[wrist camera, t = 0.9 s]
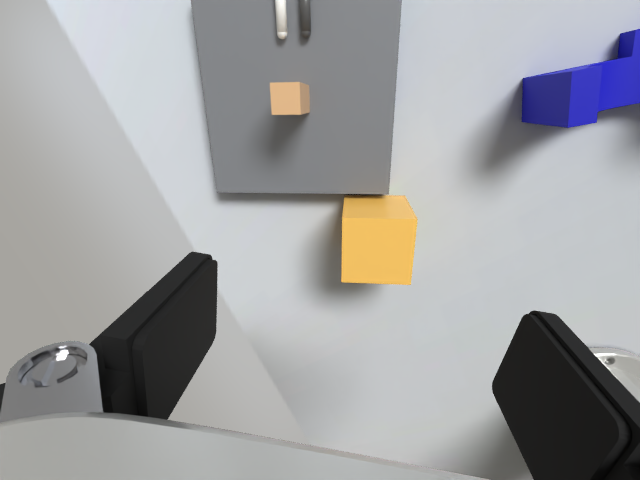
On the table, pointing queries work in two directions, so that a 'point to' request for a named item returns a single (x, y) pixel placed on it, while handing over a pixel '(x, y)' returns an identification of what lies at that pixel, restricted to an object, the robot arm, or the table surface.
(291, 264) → the table surface
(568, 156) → the table surface
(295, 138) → the plate
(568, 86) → the blue arch bracket
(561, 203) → the table surface
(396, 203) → the mustard yellow cube
